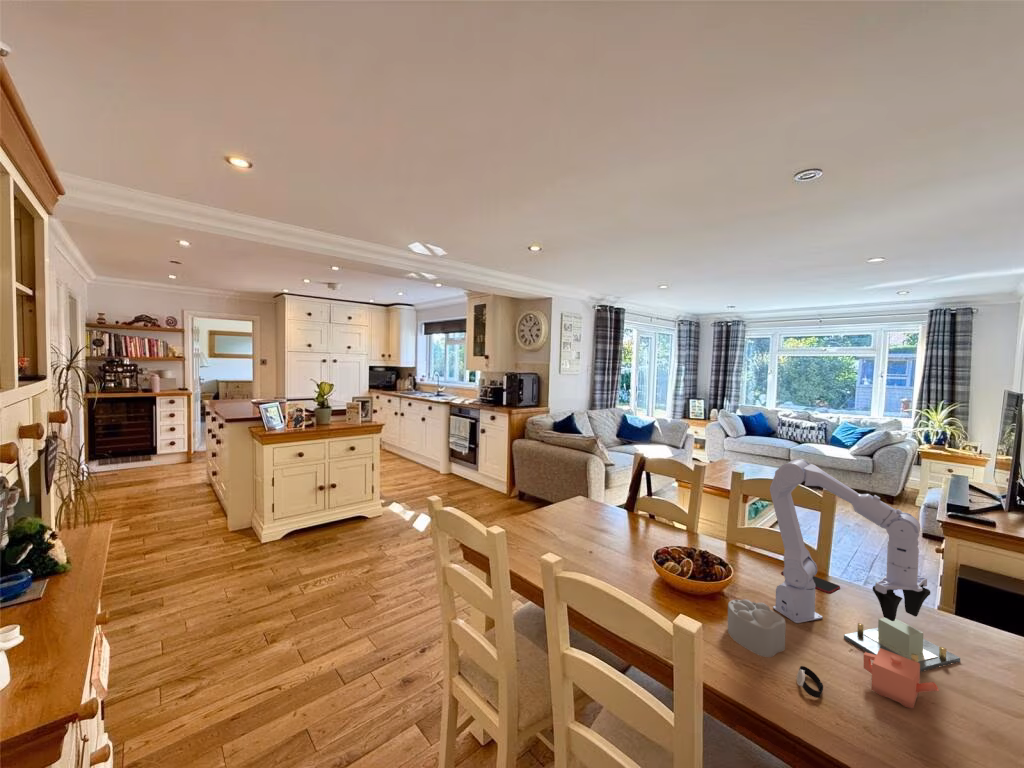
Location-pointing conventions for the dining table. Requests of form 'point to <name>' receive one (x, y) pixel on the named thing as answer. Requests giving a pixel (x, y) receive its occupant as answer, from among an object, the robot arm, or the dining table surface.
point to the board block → (900, 636)
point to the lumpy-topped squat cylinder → (756, 627)
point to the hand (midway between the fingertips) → (900, 616)
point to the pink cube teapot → (896, 677)
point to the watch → (802, 683)
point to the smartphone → (824, 585)
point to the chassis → (927, 659)
